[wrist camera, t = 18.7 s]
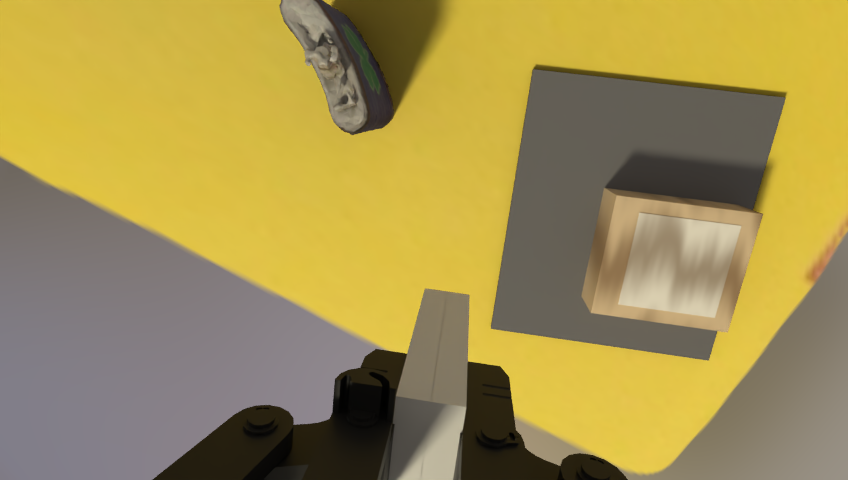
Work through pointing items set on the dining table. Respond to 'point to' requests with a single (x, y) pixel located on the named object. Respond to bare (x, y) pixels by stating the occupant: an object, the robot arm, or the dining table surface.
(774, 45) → the dining table surface
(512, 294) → the mat
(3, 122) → the dining table surface
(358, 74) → the flask
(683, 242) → the oak tile
